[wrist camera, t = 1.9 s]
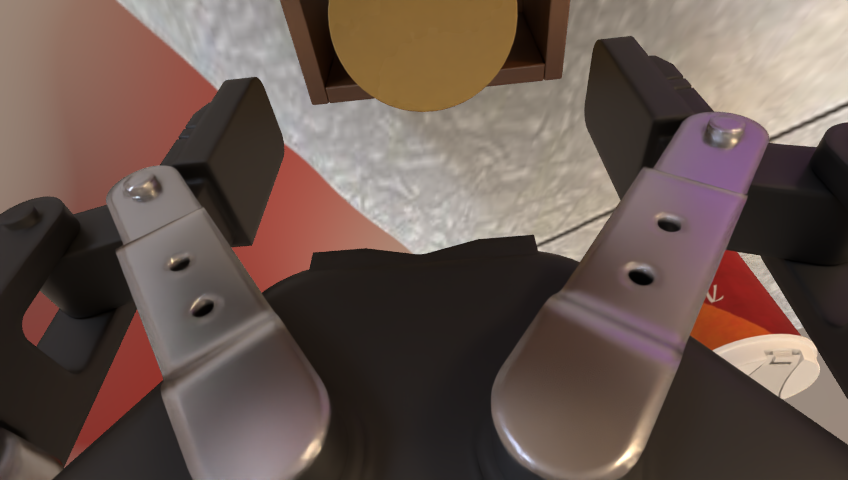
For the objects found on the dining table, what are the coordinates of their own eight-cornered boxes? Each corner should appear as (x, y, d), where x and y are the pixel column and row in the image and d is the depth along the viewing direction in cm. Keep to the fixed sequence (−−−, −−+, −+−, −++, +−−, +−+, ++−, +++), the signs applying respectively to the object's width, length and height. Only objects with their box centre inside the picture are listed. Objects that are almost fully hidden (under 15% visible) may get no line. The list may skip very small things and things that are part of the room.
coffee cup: (642, 196, 39) (725, 354, 28) (740, 195, 39) (859, 353, 28) (614, 263, 45) (674, 414, 34) (699, 262, 45) (785, 412, 34)
